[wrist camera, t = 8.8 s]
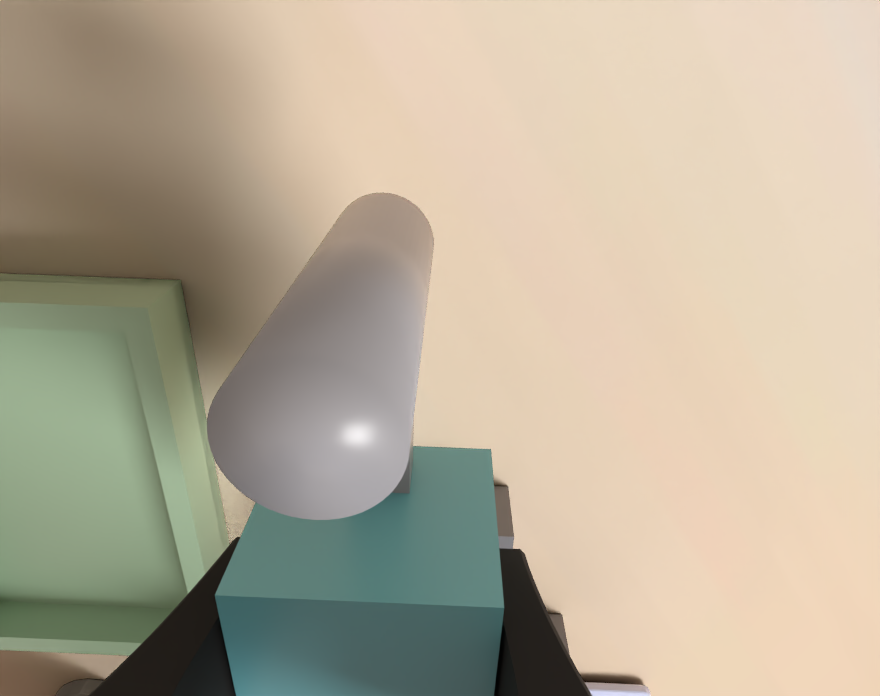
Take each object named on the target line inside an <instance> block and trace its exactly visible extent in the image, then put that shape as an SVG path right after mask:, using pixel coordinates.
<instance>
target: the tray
mask: <svg viewBox="0 0 880 696" xmlns="http://www.w3.org/2000/svg"><path fill="white" fill-rule="evenodd" d="M229 545H230V544H229V539H228V534H227V528H226V523H225V517H224V512H223V507H222V501H221V496H220V490H219V485H218V479H217V474H216V469H215V463H214V458H213V454H212V452H211V449H210V445H209V442H208V435H207V420H206V414H205V409H204V404H203V398H202V393H201V387H200V382H199V376H198V371H197V366H196V360H195V355H194V349H193V344H192V339H191V333H190V328H189V322H188V317H187V311H186V306H185V301H184V295H183V290H182V284H181V280H167V279H141V278H114V277H87V276H60V275H33V274H6V273H0V650H12V651H35V652H58V653H81V654H104V655H127V656H130V655H131V654H132V653H133V652H134V651H135V650H136V649H137V648H138V647H139V646H140V645H141V644H142V643H143V642H144V641H145V640H146V639H147V638H148V637H149V636H150V635H151V633H152V632H153V631H154V630H155V629H156V628H157V627H158V626H159V625H160V624H161V623H162V622H163V621H164V620H165V618H166V617H167V616H168V615H169V614H170V613H171V612H172V611H173V610H174V609H175V607H176V606H177V605H178V604H179V603H180V602H181V601H182V600H183V599H184V598H185V596H186V595H187V594H188V593H189V592H190V591H191V590H192V589H193V587H194V586H195V585H196V584H197V583H198V582H199V580H200V579H201V578H202V577H203V576H204V575H205V573H206V572H207V571H208V570H209V569H210V568H211V566H212V565H213V564H214V563H215V562H216V560H217V559H218V558H219V557H220V556H221V554H222V553H223V552H224V551H225V550H226V548H227V547H228V546H229Z"/></svg>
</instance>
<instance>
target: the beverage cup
mask: <svg viewBox="0 0 880 696" xmlns="http://www.w3.org/2000/svg"><path fill="white" fill-rule="evenodd" d="M102 682H103V680H92V679H84V680H76V681H72V682H70V683H68V684H65V685H63V686H62V687H61V689H60V690H59V691H58V692H57V693H56V695H55V696H88V695H89V694H90V693H91V692H92V691H94V690H95V689H96V688H97V687H98V686H99V685H100V684H101V683H102Z"/></svg>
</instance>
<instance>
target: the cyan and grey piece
mask: <svg viewBox="0 0 880 696" xmlns="http://www.w3.org/2000/svg"><path fill="white" fill-rule="evenodd" d="M433 247H434V239H433V233H432V230H431V226H430V224H429V222H428V220H427V218H426V217H425V215H424V214H423V213H422V211H421V210H420V209H419V208H418V207H417V206H416V205H415V204H413V203H412V202H410V201H409V200H407V199H405V198H403V197H401V196H398V195H395V194H391V193H373V194H368V195H365V196H362V197H360V198H358V199H356V200H355V201H353V202H352V203H351V204H350V205H348V206H347V207H346V209H345V210H344V211H343V212H342V214H341V215H340V217H339V218H338V219H337V221H336V222H335V224H334V225H333V227H332V228H331V229H330V231H329V232H328V234H327V235H326V237H325V238H324V240H323V241H322V242H321V244H320V245H319V247H318V248H317V250H316V251H315V252H314V254H313V255H312V257H311V258H310V260H309V261H308V263H307V264H306V265H305V267H304V268H303V270H302V271H301V273H300V274H299V275H298V277H297V278H296V280H295V281H294V283H293V284H292V285H291V287H290V288H289V290H288V291H287V293H286V294H285V296H284V297H283V298H282V300H281V301H280V303H279V304H278V306H277V307H276V308H275V310H274V311H273V313H272V314H271V316H270V317H269V318H268V320H267V321H266V323H265V324H264V326H263V327H262V329H261V330H260V331H259V333H258V334H257V336H256V337H255V339H254V340H253V341H252V343H251V344H250V346H249V347H248V349H247V350H246V351H245V353H244V354H243V356H242V357H241V359H240V360H239V362H238V363H237V364H236V366H235V367H234V369H233V370H232V372H231V373H230V374H229V376H228V377H227V379H226V380H225V382H224V383H223V385H222V386H221V387H220V389H219V390H218V392H217V394H216V395H215V397H214V399H213V401H212V404H211V406H210V409H209V414H208V418H207V435H208V442H209V445H210V449H211V452H212V454H213V457H214V459H215V461H216V463H217V465H218V466H219V468H220V470H221V471H222V472H223V474H224V475H225V476H226V478H227V479H228V480H229V481H230V482H231V483H232V484H233V485H234V486H235V487H236V488H237V489H238V490H239V491H241V492H242V493H243V494H244V495H246V496H247V497H248V498H250V499H251V500H253V501H255V502H256V503H255V505H254V508H253V510H252V512H251V514H250V517H249V519H248V521H247V524H246V526H245V528H244V530H243V533H242V535H241V537H240V539H239V542H238V544H237V546H236V548H235V551H234V553H233V555H232V557H231V560H230V562H229V564H228V566H227V569H226V571H225V573H224V575H223V578H222V580H221V582H220V584H219V587H218V589H217V591H216V594H215V599H216V604H217V609H218V613H219V618H220V623H221V627H222V632H223V637H224V641H225V646H226V651H227V656H228V660H229V665H230V670H231V674H232V679H233V684H234V688H235V693H236V696H494V690H495V681H496V673H497V665H498V656H499V648H500V639H501V631H502V623H503V614H504V599H503V587H502V575H501V563H500V551H499V540H498V528H497V516H496V504H495V492H494V480H493V468H492V456H491V449H470V448H446V447H421V446H413V417H414V409H415V401H416V392H417V384H418V375H419V367H420V358H421V350H422V341H423V333H424V324H425V316H426V307H427V299H428V290H429V282H430V274H431V265H432V257H433Z"/></svg>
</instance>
